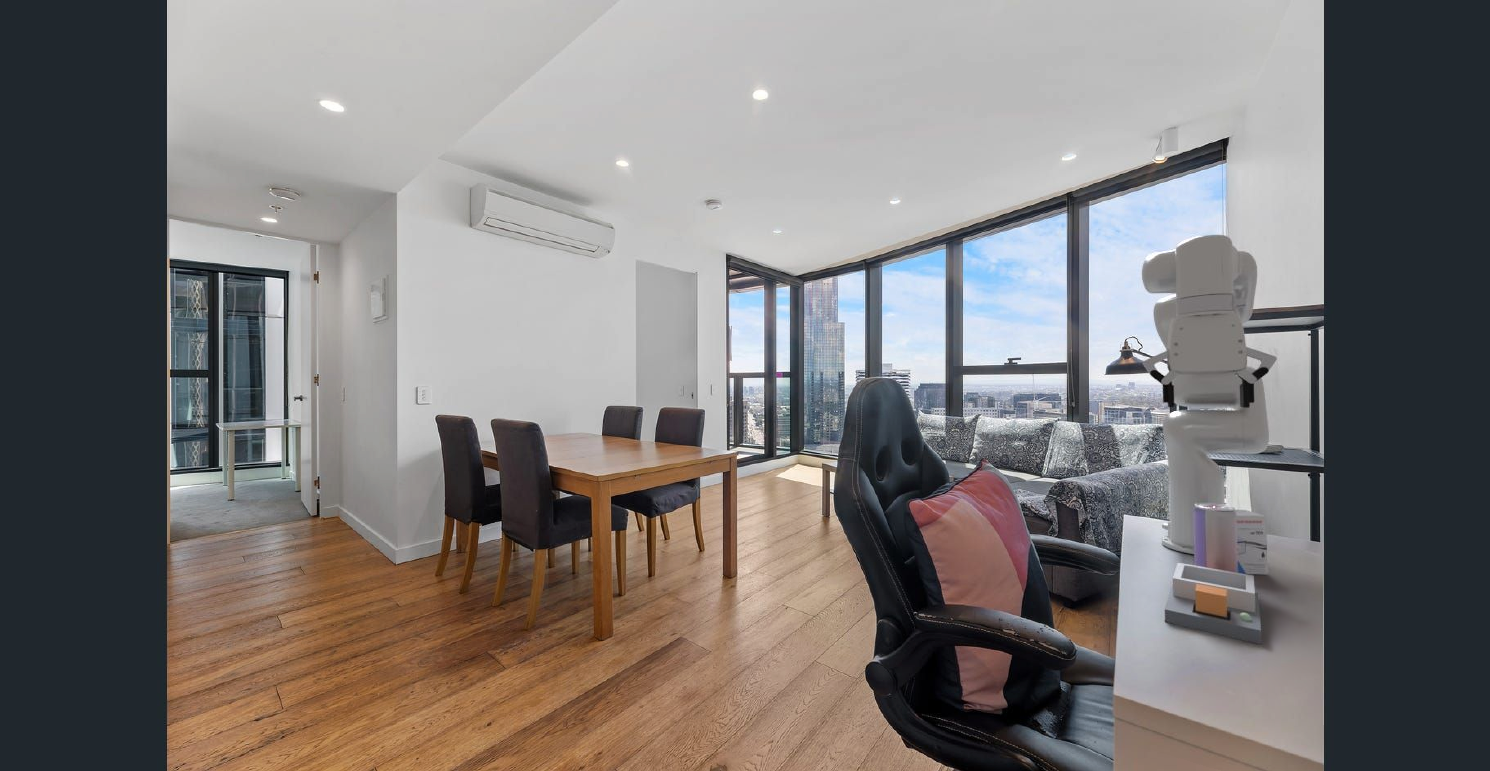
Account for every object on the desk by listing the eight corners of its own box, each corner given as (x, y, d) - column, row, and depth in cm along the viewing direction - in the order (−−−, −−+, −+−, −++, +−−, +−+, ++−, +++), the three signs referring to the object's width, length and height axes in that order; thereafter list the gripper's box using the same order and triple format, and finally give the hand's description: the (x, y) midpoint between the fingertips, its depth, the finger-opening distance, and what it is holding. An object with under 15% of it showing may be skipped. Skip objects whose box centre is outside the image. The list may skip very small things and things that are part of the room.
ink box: (1221, 574, 102) (1220, 515, 102) (1202, 565, 107) (1200, 509, 107) (1269, 575, 101) (1268, 515, 101) (1247, 566, 106) (1246, 509, 106)
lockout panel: (1175, 588, 96) (1174, 561, 96) (1258, 604, 89) (1257, 575, 89) (1164, 621, 83) (1164, 590, 83) (1261, 644, 76) (1260, 610, 76)
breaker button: (1197, 603, 85) (1196, 583, 85) (1227, 609, 82) (1226, 589, 82) (1195, 610, 82) (1195, 590, 82) (1226, 617, 79) (1226, 596, 79)
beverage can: (1187, 582, 98) (1186, 504, 98) (1206, 578, 101) (1205, 501, 101) (1226, 594, 93) (1224, 511, 93) (1245, 589, 95) (1243, 507, 95)
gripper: (1268, 306, 88) (1271, 407, 88) (1140, 316, 98) (1142, 406, 98) (1280, 300, 82) (1283, 408, 81) (1142, 311, 92) (1144, 407, 91)
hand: (1206, 407), depth 89 cm, fingers open, 9 cm apart
